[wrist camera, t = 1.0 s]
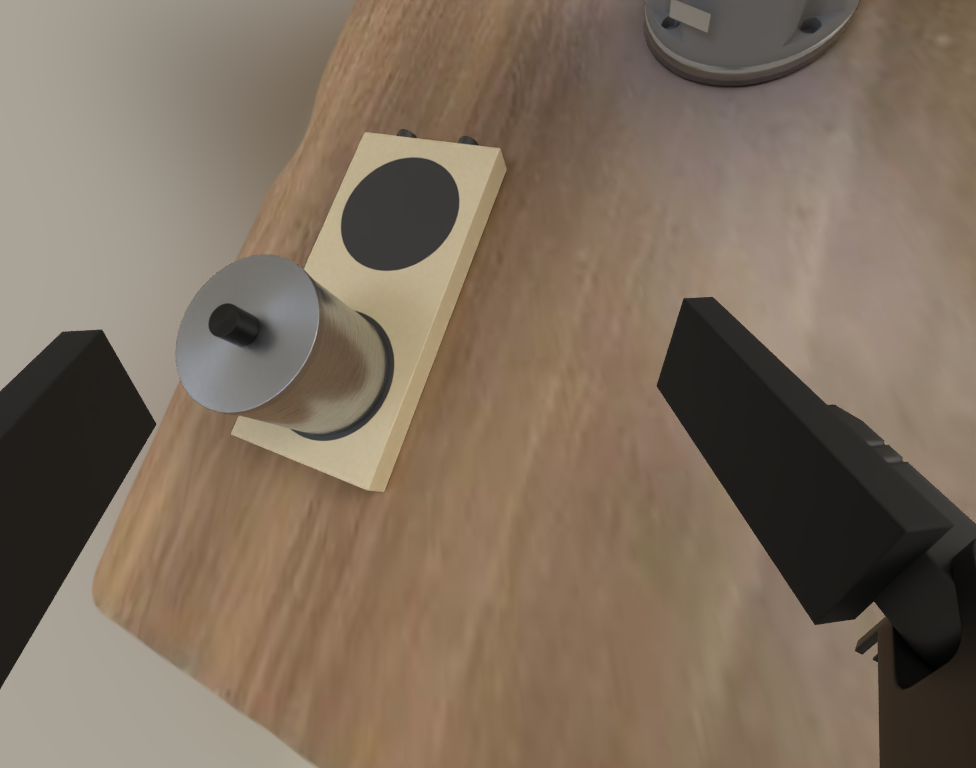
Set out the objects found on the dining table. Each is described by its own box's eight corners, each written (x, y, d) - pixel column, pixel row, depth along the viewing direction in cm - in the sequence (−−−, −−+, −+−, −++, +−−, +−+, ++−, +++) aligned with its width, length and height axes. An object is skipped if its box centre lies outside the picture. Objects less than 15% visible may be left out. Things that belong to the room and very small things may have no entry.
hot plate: (381, 142, 44) (368, 122, 42) (511, 159, 40) (504, 137, 37) (252, 439, 39) (229, 434, 37) (384, 492, 35) (367, 491, 33)
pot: (306, 301, 38) (197, 227, 28) (409, 328, 35) (328, 256, 25) (256, 414, 37) (123, 378, 27) (360, 454, 34) (253, 430, 24)
